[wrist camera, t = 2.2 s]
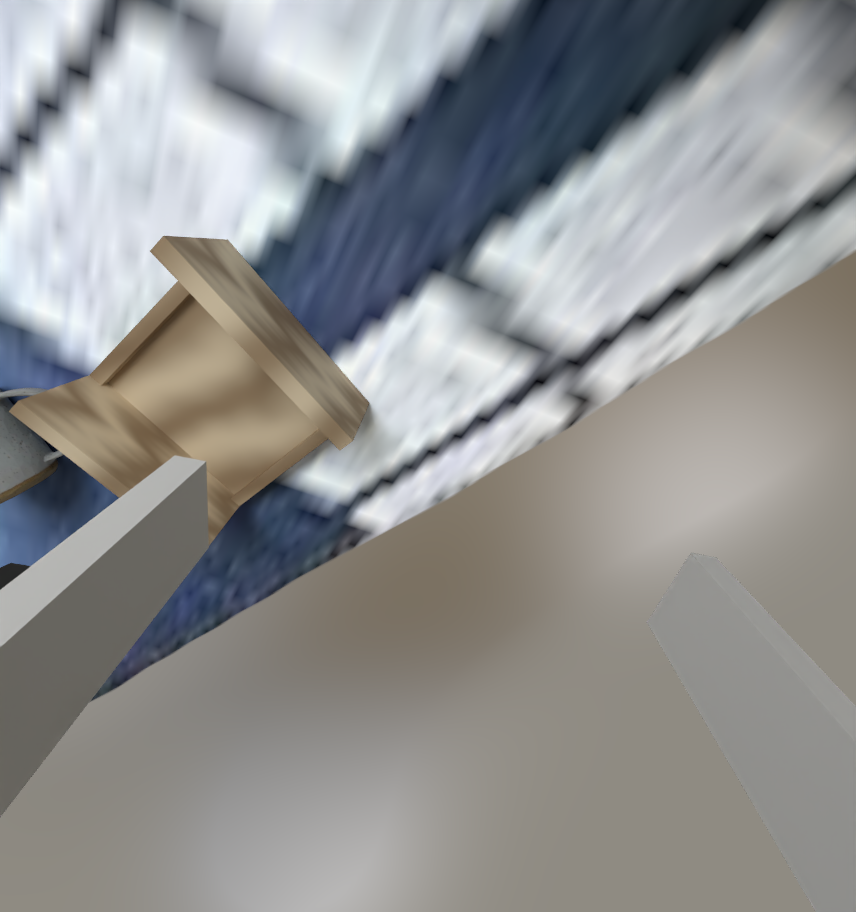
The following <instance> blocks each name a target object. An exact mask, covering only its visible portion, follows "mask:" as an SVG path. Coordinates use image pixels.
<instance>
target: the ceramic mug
mask: <svg viewBox="0 0 856 912" xmlns="http://www.w3.org/2000/svg"><path fill="white" fill-rule="evenodd" d="M44 391H47V390H46V389H41V388H21V389H14V390H8V391H5V392H2V391H1V390H0V504H1V503H3V502H5V501H7V500H9V499H11V498H13V497H15V496H17V495H18V494H20V493H22V492H24V491H26V490H27V489H29V488H31V487H33V486H34V485H36V484H38V483H39V482H41V481H43V480H44V479H46V478H47V477H49V476H50V475H51V474H53V473H54V472H55V471H56V469H57V467H58V460H57V459H56V458H58V457H60V456H62V455H64V454H63V453H61V452H60V451H59V450H58V451H56V452H52V450H51V449H50V448H49V446H48V445H47V444H46V443H45V442H44V440H43V439H42V438H41V437H40V436H39V435H38V434H37V433H36V432H34V431H33V430H32V429H30V428H29V427H28V426H27V425H25V424H24V423H23V422H21V421H20V420H19V419H18V418H16V417H15V416H14V415H12V414H11V413H10V412H9V411H10V410H11V408H12V407H13V406H14V405H13V404H12V402H11V401H10V400H9V399H8V398H7V397H13V396H33V395H36V394H39V393H41V392H44Z"/></svg>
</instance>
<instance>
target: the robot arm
mask: <svg viewBox="0 0 856 912" xmlns="http://www.w3.org/2000/svg"><path fill="white" fill-rule="evenodd" d="M208 548H209V538H208V502H207V466H206V461H202V460H197V459H191V458H186V457H181V456H176V455H175V456H173V457H172V458H171V459H170V460H168V461H167V462H166V463H164V464H163V465H162V466H160V467H159V468H158V469H157V470H155V471H154V472H153V473H151V474H150V475H149V476H147V477H146V478H145V479H144V480H142V481H141V482H140V483H138V484H137V485H136V486H134V487H133V488H132V489H131V490H129V491H128V492H127V493H125V494H124V495H123V496H122V497H120V498H119V499H118V500H116V501H115V502H114V503H112V504H111V505H110V506H109V507H107V508H106V509H105V510H103V511H102V512H101V513H99V514H98V515H97V516H96V517H94V518H93V519H92V520H90V521H89V522H88V523H86V524H85V525H84V526H83V527H81V528H80V529H79V530H77V531H76V532H75V533H73V534H72V535H71V536H70V537H68V538H67V539H66V540H64V541H63V542H62V543H60V544H59V545H58V546H57V547H55V548H54V549H53V550H51V551H50V552H49V553H48V554H46V555H45V556H44V557H42V558H41V559H40V560H38V561H37V562H36V563H35V564H33V565H32V566H26V565H20V564H14V563H10V564H8V565H5V566H3V567H1V568H0V817H1V815H2V814H3V813H4V812H5V810H6V809H7V808H8V807H9V805H10V804H11V802H12V801H13V800H14V799H15V798H16V796H17V795H18V794H19V792H20V791H21V790H22V788H23V787H24V786H25V785H26V783H27V782H28V781H29V779H30V778H31V777H32V775H33V774H34V773H35V772H36V770H37V769H38V768H39V766H40V765H41V764H42V762H43V761H44V760H45V759H46V757H47V756H48V755H49V753H50V752H51V751H52V750H53V748H54V747H55V746H56V744H57V743H58V742H59V741H60V739H61V738H62V737H63V735H64V734H65V733H66V731H67V730H68V729H69V728H70V726H71V725H72V724H73V722H74V721H75V720H76V719H77V717H78V716H79V715H80V713H81V712H82V711H83V709H84V708H85V707H86V706H87V704H88V703H89V702H90V700H91V699H92V698H93V696H94V695H95V694H96V693H97V691H98V690H99V689H100V687H101V686H102V685H103V684H104V682H105V681H106V680H107V678H108V677H109V676H110V674H111V673H112V672H113V671H114V669H115V668H116V667H117V665H118V664H119V663H120V662H121V660H122V659H123V658H124V656H125V655H126V654H127V652H128V651H129V650H130V649H131V647H132V646H133V645H134V643H135V642H136V641H137V639H138V638H139V637H140V636H141V634H142V633H143V632H144V630H145V629H146V628H147V627H148V625H149V624H150V623H151V621H152V620H153V619H154V617H155V616H156V615H157V614H158V612H159V611H160V610H161V608H162V607H163V606H164V605H165V603H166V602H167V601H168V599H169V598H170V597H171V595H172V594H173V593H174V592H175V590H176V589H177V588H178V586H179V585H180V584H181V583H182V581H183V580H184V579H185V577H186V576H187V575H188V573H189V572H190V571H191V570H192V568H193V567H194V566H195V564H196V563H197V562H198V560H199V559H200V558H201V557H202V555H203V554H204V553H205V551H206V550H207V549H208ZM647 623H648V625H649V627H650V629H651V631H652V632H653V634H654V635H655V637H656V639H657V641H658V643H659V644H660V646H661V648H662V649H663V651H664V653H665V655H666V656H667V658H668V660H669V661H670V663H671V665H672V667H673V668H674V670H675V672H676V673H677V675H678V677H679V679H680V680H681V682H682V683H683V685H684V687H685V689H686V691H687V692H688V694H689V696H690V697H691V699H692V701H693V703H694V704H695V706H696V708H697V709H698V711H699V713H700V715H701V716H702V718H703V720H704V721H705V723H706V725H707V727H708V728H709V730H710V732H711V733H712V735H713V737H714V738H715V740H716V742H717V744H718V745H719V747H720V749H721V750H722V752H723V754H724V756H725V757H726V759H727V761H728V763H729V764H730V766H731V768H732V769H733V771H734V773H735V775H736V776H737V778H738V780H739V781H740V783H741V785H742V787H743V788H744V790H745V792H746V794H747V795H748V797H749V799H750V800H751V802H752V804H753V806H754V807H755V809H756V810H757V812H758V814H759V816H760V818H761V819H762V821H763V822H764V824H765V826H766V828H767V830H768V831H769V833H770V835H771V836H772V838H773V840H774V841H775V843H776V845H777V847H778V848H779V850H780V852H781V854H782V855H783V857H784V859H785V860H786V862H787V864H788V866H789V867H790V869H791V871H792V872H793V874H794V876H795V878H796V879H797V881H798V883H799V884H800V886H801V888H802V889H803V891H804V893H805V895H806V896H807V898H808V900H809V901H810V903H811V905H812V907H813V908H814V910H815V912H856V706H855V705H854V704H853V703H852V702H851V700H850V699H849V698H848V697H847V696H846V695H845V694H844V693H843V692H842V691H841V690H840V689H839V688H838V687H837V686H836V685H835V683H834V682H833V681H832V680H831V679H830V678H829V677H828V676H827V675H826V674H825V673H824V672H823V671H822V670H821V669H820V667H819V666H818V665H817V664H816V663H815V662H814V661H813V660H812V659H811V658H810V657H809V656H808V655H807V654H806V653H805V652H804V650H803V649H802V648H801V647H800V646H799V645H798V644H797V643H796V642H795V641H794V640H793V639H792V638H791V637H790V636H789V635H788V634H787V633H786V631H785V630H784V629H783V628H782V627H781V626H780V625H779V624H778V623H777V622H776V621H775V620H774V619H773V617H772V616H771V615H770V614H769V613H768V612H767V611H766V610H765V609H764V608H763V607H762V606H761V605H760V604H759V603H758V602H757V600H755V598H754V597H753V596H752V595H751V594H750V593H749V592H748V591H747V590H746V589H745V588H744V587H743V586H742V585H741V583H740V582H739V581H738V580H737V579H736V578H735V577H734V576H733V575H732V574H731V573H730V572H729V571H728V570H727V568H726V567H725V566H724V565H723V564H722V563H721V562H720V561H719V560H718V559H717V558H716V557H711V556H705V555H700V554H695V553H690V555H689V556H688V558H687V559H686V561H685V563H684V564H683V566H682V567H681V569H680V571H679V572H678V574H677V576H676V577H675V579H674V580H673V582H672V583H671V585H670V586H669V588H668V590H667V591H666V593H665V594H664V596H663V598H662V599H661V601H660V602H659V604H658V606H657V607H656V609H655V610H654V612H653V614H652V615H651V617H650V618H649V620H648V621H647Z"/></svg>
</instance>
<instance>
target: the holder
mask: <svg viewBox="0 0 856 912" xmlns="http://www.w3.org/2000/svg"><path fill="white" fill-rule="evenodd" d="M150 252H151V253H152V254H153V255H154V256H155V257H156V258H157V259H158V260H159V261H160V262H161V263H162V264H163V265H164V267H165V268H166V269H167V270H168V271H169V272H170V273H171V274H172V275H173V276H174V277H175V278H176V279H177V280H178V282H177V283H176V284H175V285H174V286H173V287H172V288H171V289H170V290H169V291H168V292H167V293H166V294H165V295H164V296H163V297H162V299H161V300H160V301H159V302H158V303H157V304H156V305H155V306H154V307H153V308H152V309H151V310H150V311H149V312H148V313H147V315H146V316H145V317H144V318H143V319H142V320H141V321H140V322H139V323H138V324H137V325H136V326H135V327H134V328H133V329H132V331H131V332H130V333H129V334H128V335H127V336H126V337H125V338H124V339H123V340H122V341H121V342H120V343H119V344H118V345H117V347H116V348H115V349H114V350H113V351H112V352H111V353H110V354H109V355H108V356H107V357H106V358H105V359H104V360H103V361H102V363H101V364H100V365H99V366H98V367H97V368H96V369H95V370H94V371H93V372H92V373H91V374H90V375H89V376H86V377H84V378H81V379H78V380H75V381H72V382H70V383H67V384H64V385H61V386H58V387H56V388H53V389H50V390H47V391H44V392H41V393H39V394H36V395H33V396H30V397H27V398H25V399H22V400H19V401H18V402H17V403H16V404H15V405H14V406H13V407H12V408H11V410H10V411H9V412H10V413H11V414H12V415H14V416H15V417H16V418H18V419H19V420H20V421H21V422H23V423H24V424H25V425H27V426H28V427H29V428H30V429H32V430H33V431H34V432H36V433H37V434H38V435H39V436H41V437H42V438H43V439H45V440H46V441H47V442H48V443H50V444H51V445H52V446H54V447H55V448H56V449H57V450H59V451H60V452H61V453H63V454H64V455H65V456H66V457H68V458H69V459H70V460H72V461H73V462H74V463H75V464H77V465H78V466H79V467H81V468H82V469H83V470H84V471H86V472H87V473H88V474H90V475H91V476H92V477H93V478H95V479H96V480H97V481H99V482H100V483H101V484H102V485H104V486H105V487H106V488H108V489H109V490H110V491H111V492H113V493H114V494H115V495H117V496H118V497H119V498H120V497H122V496H123V495H124V494H125V493H127V492H128V491H129V490H131V489H132V488H133V487H134V486H136V485H137V484H138V483H140V482H141V481H142V480H144V479H145V478H146V477H147V476H149V475H150V474H151V473H153V472H154V471H155V470H157V469H158V468H159V467H160V466H162V465H163V464H164V463H166V462H167V461H168V460H170V459H171V458H172V457H173V456H175V455H176V456H181V457H186V458H191V459H197V460H202V461H206V466H207V502H208V538H209V545H210V544H211V543H212V541H213V540H214V539H215V537H216V536H217V535H218V533H219V532H220V531H221V530H222V528H223V527H224V526H225V524H226V523H227V522H228V520H229V519H230V518H231V517H232V515H233V514H234V513H235V511H236V510H237V509H238V507H239V506H240V505H242V504H243V503H244V502H246V501H247V500H248V499H250V498H251V497H252V496H254V495H255V494H256V493H257V492H259V491H260V490H261V489H263V488H264V487H265V486H267V485H268V484H269V483H271V482H272V481H273V480H275V479H276V478H277V477H278V476H280V475H281V474H282V473H284V472H285V471H286V470H288V469H289V468H290V467H292V466H293V465H294V464H296V463H297V462H298V461H299V460H301V459H302V458H303V457H305V456H306V455H307V454H309V453H310V452H311V451H313V450H314V449H315V448H317V447H318V446H319V445H320V444H322V443H323V442H324V441H326V440H327V439H329V440H330V441H331V442H332V443H333V444H334V445H335V446H336V447H337V448H338V449H339V450H341V449H342V448H344V447H345V446H347V445H348V444H349V443H351V442H352V441H353V440H354V437H355V435H356V433H357V430H358V428H359V426H360V423H361V421H362V419H363V417H364V414H365V412H366V410H367V407H368V405H369V402H368V401H367V400H366V399H365V397H364V396H363V395H362V394H361V393H360V392H359V391H358V389H357V388H356V387H355V386H354V385H353V384H352V382H351V381H350V380H349V379H348V378H347V377H346V376H345V374H344V373H343V372H342V371H341V370H340V369H339V367H338V366H337V365H336V364H335V363H334V362H333V361H332V359H331V358H330V357H329V356H328V355H327V354H326V353H325V351H324V350H323V349H322V348H321V347H320V346H319V344H318V343H317V342H316V341H315V340H314V339H313V338H312V336H311V335H310V334H309V333H308V332H307V331H306V329H305V328H304V327H303V326H302V325H301V324H300V323H299V321H298V320H297V319H296V318H295V317H294V316H293V315H292V313H291V312H290V311H289V310H288V309H287V308H286V306H285V305H284V304H283V303H282V302H281V301H280V300H279V298H278V297H277V296H276V295H275V294H274V293H273V291H272V290H271V289H270V288H269V287H268V286H267V285H266V283H265V282H264V281H263V280H262V279H261V278H260V277H259V275H258V274H257V273H256V272H255V271H254V270H253V268H252V267H251V266H250V265H249V264H248V263H247V262H246V260H245V259H244V258H243V257H242V256H241V255H240V253H239V252H238V251H237V250H236V249H235V248H234V247H233V245H232V244H231V243H230V242H229V241H228V240H224V239H207V238H191V237H174V236H163V237H162V238H161V239H160V240H159V242H158V243H157V244H156V245H155V246H154V247H153V248H152V249H151V251H150Z"/></svg>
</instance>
